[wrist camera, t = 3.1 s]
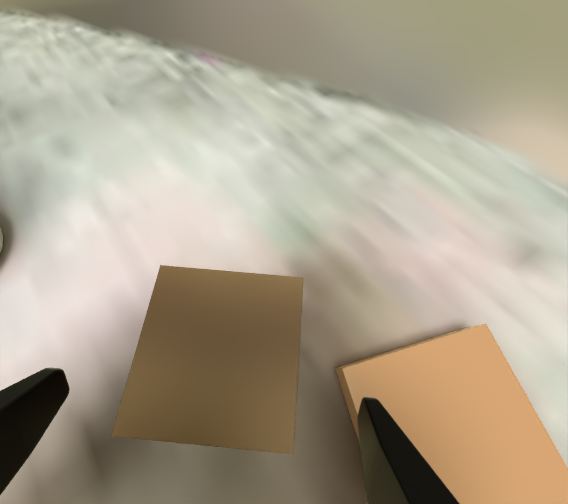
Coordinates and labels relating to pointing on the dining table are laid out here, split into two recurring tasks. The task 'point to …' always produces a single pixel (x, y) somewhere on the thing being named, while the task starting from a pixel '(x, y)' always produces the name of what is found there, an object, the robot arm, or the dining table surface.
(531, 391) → the dining table surface
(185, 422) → the walnut block
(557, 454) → the terracotta tile
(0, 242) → the beer can
